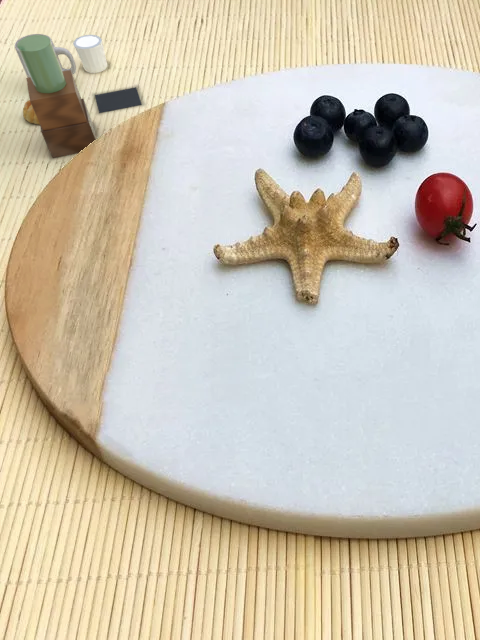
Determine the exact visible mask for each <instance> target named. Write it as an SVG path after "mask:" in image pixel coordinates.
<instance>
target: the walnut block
mask: <svg viewBox="0 0 480 640" xmlns="http://www.w3.org/2000/svg"><path fill="white" fill-rule="evenodd" d="M62 72H63V74H64V77H65V80H66V86H65V87H64V88H63V89H61V90H59V91H57V92H54V93H41V92H38V91H37V90H36V89H35V87H34V85H33V82H32V80H31V78H30V77H29V78H28V77H26V79H25V80H26V84H27V92H28V98H29V100H30V102H31V105H32V107H33V109H34V111H35V114H36V116H37V118H38V120H39V123H40V124H39V127H40V132H41V135H42V137H43V140H44V142H45V144H46V146H47V149H48V150H49V154H50V155H51V158H52V159H58V158H62V157H66V156H71V155H75V154H80V153H79V152H80V151H81V150H83V149H84V148H85V147H87V146H88V145H89V144H90V143H92V142H93V141H94V140H96V139H97V134H96V131H95V127H94V123H93V120H92V118H91V115H90V112H89V110H88V107H87V103H86V101H85V99H84V98H82V96H81V94H80V90H79V88H78V86H77V83H76V80H75V77H74V74H73V75H72V72H71V70H68V71H62Z"/></svg>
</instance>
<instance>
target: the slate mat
mask: <svg viewBox="0 0 480 640" xmlns="http://www.w3.org/2000/svg"><path fill="white" fill-rule="evenodd" d="M94 97H95V102H96V106H97V109H98V114H102V113H107V112H113V111H118V110H123V109H129V108H134V107H139V106H142V105H143V104H142V101H141V98H140V94H139V91H138V88H137V87H130V88H125V89H119V90H115V91H109V92H103V93H99V94H94Z"/></svg>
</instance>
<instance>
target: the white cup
mask: <svg viewBox="0 0 480 640" xmlns="http://www.w3.org/2000/svg"><path fill="white" fill-rule="evenodd" d="M72 45H73V47H74V49H75V51H76V53H77V56H78V58H79V60H80V62H81V64H82V67H83V69H84V71H86V72H87V73H90V74H96V73H101V72H103V71H106V69H107V68H108V61H107V57H106V51H105V48H104V43H103V39H102V37H100V36H99V35H96V34H84V35H81V36H79V37H76V38H75V39H74V40H73V43H72Z"/></svg>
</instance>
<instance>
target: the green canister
mask: <svg viewBox="0 0 480 640" xmlns="http://www.w3.org/2000/svg"><path fill="white" fill-rule="evenodd" d="M44 35H45V34H44ZM44 35H32V36H28V37H25V38H23V39H21V40H20V41H19V42H18V44H17V47H18V50H19V52H20V54H21V57H22V59H23V61H24V64H25V66H26V68H27V71H28V73H29V75H30V78H31V80H32V82H33V85H34V87H35V89H36V90H37V91H38V92H41V93H54V92H57V91H59V90H61V89H63V88H64V87H65V86H66V80H65V77H64V74H63V72H62V69H61V66H60V64H59V61H58V59H57V56H56V53H55V51H54V48H53V46H52V43H51V40H50V39H49V38H48V37H47V36H48V35H47V36H44Z"/></svg>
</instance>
